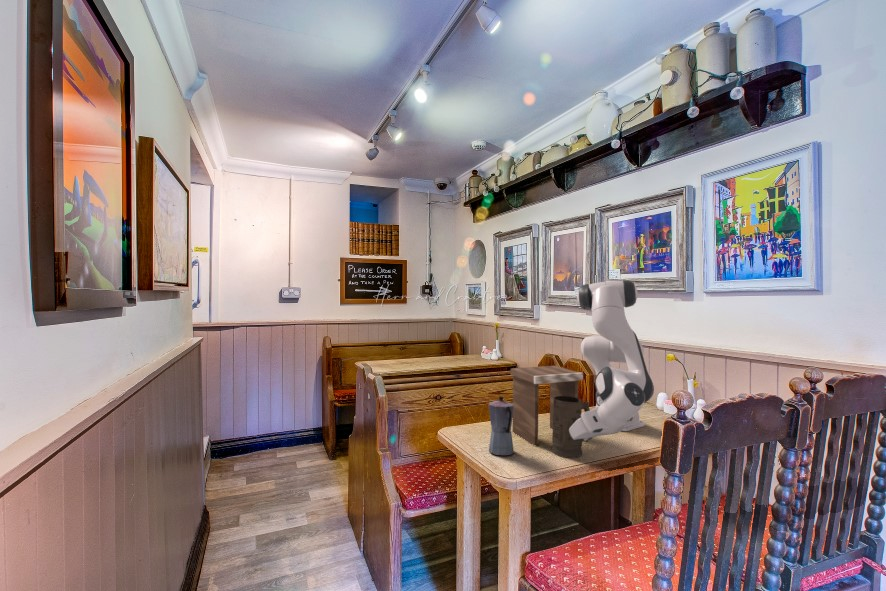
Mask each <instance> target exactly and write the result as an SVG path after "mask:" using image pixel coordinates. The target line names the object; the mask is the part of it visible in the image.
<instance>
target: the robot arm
mask: <svg viewBox="0 0 886 591" xmlns="http://www.w3.org/2000/svg"><path fill="white" fill-rule="evenodd" d="M638 294H639V292H638V289H637V287H636V285H635V283H634V282H633V281H632V280H626V279H623V280H606V281H601V282H592V283H585V284H583V285H580V286H579V287H578V289H577V293H576V301H577V303H578V305H579V307H580V308H581V309H582V310H585V311H591V318H592V319H591V320H592V326H593V328H594V330H595V332H596V333H597V334H598V335H591V336H585V337H584V339H583V340H582V341H581V344H580V351H581V354H582V356H583V357H584V358H585V359H586V360H588V362H590V364H591V365H592V366H593V369H594V371H595V374H596V376H595V380H594V386H595V389H596V392H595V401H596V404H595V408H593V409H590V410H589V411H586V412H585V411H584V412H582V414H581V418H579V419H578V420H577V421H576V422H575V423H574V424H573V425H572V426H571V427H570V428H569V432H570V435H571V437H572V438H573V439H574V440H576V439H584V441H583V442H586V441H587V440H588V441H592V440H594V438H597V437H601V436H609V435H614V434H618V433H620V432H629V431H633V430H636V429H640V428H643V427H645V426H646V423H645V422H644V421H643V420H640V413H639V412H640V410H641V409H642V407H643V405H644V404H646V403H647V402H648V401H649V400H651V399H652V397H653V396H654V393H655V386H654V383H653V380H652V378H651V376H650V374H649V372H648V369H647V365H646V362H645V358H644V353H645V352H644V346H643V343H641V341H640V340H639V339H638V336H637V333H635V331H634V330H633V329H632V328H631V325H630V324H629V322H628V320H627V317H626V314H625V308H629V307H633V306H635V304H636V303H637V299H638ZM610 362H611V363H620V364H621V363H623V364H626V365H627V368H628V369H627V370H625V369H622V368H621V369H620V368H617V367H612V365H611V364H610ZM588 441H587V442H588Z"/></svg>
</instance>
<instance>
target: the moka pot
mask: <svg viewBox="0 0 886 591" xmlns="http://www.w3.org/2000/svg"><path fill="white" fill-rule="evenodd" d="M513 408H514V406H513V402H508V401H504V396H498V400H493V401H489V403H488V409H489V410H488V411H489V419H490V420H489V421H490V426H491V427H490V428H491V431H490V432H491V433H490V439H489V440H490V441H489V447H488V452H490V453H491V454H493V455H497V456H511V455H512V454H514V451H515V450H514V444H513V435H512V434H513V433H512V431H511V430H512V427H513Z"/></svg>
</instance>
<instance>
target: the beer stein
mask: <svg viewBox="0 0 886 591" xmlns="http://www.w3.org/2000/svg"><path fill="white" fill-rule="evenodd" d="M553 405H554V414H553V429H552V440H551V443H552V446H551V451H552V453H553V454H554V453H555V454H554V455H556V454H557V456H560V457H562V456H563V457H562V458H568V457H569V458H570V459H574V457H575V458H578V457H581V456H582V455H583V448H582V446H583V442H589V440H587V441H584V439H576V440H574V439H573V438H572V437H571V435H570V432H569V428H570V427H571V426H572V425H573V424H574V423H575V422H576V421H577V420H578V419H579V418H581V414H582V413H583V412H582V410H583V411H584V412H586V411H589V410H591V409H590V402H589V401H583V402H582V399H580V398H579V397H578V398H575V397H570V396H557V397H555V398H554V402H553Z"/></svg>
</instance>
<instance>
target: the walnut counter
mask: <svg viewBox="0 0 886 591" xmlns="http://www.w3.org/2000/svg"><path fill="white" fill-rule="evenodd" d="M510 376H512V403H513V406H514V408H513V417H512V433H513V432H514V433H515V434H514V433H513V434H514V435H516V434H517V435H516V436H518V435H519V436H520V437H519V436H518V437H519V438H521V437H522V438H523V440H524V439H525V440H524V441H526V442H527V441H528V442H527V443H529V442H530V443H529V444H531V445H532V444H533V445H532V446H534V445H537V446H539V399H540V398H539V397H540V396H539V394H540V393H539V392H540V391H539V390H540V389H539V385H540V384H541V385H542V384H549V385H550V388H549V393H550V394H549V395H550V396H549V397H550V398H549V428H550V429H551V430H553V414H554V405H553V402H554V398H555V397H557V396H570V397H575V398H579V382H580V381H583V380H584V372H579V371H575V370H571V369H570V368H569V369H568V368H565V367H561V366H557V365H543V366H530V367H515V368H510ZM522 438H521V439H522Z"/></svg>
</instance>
